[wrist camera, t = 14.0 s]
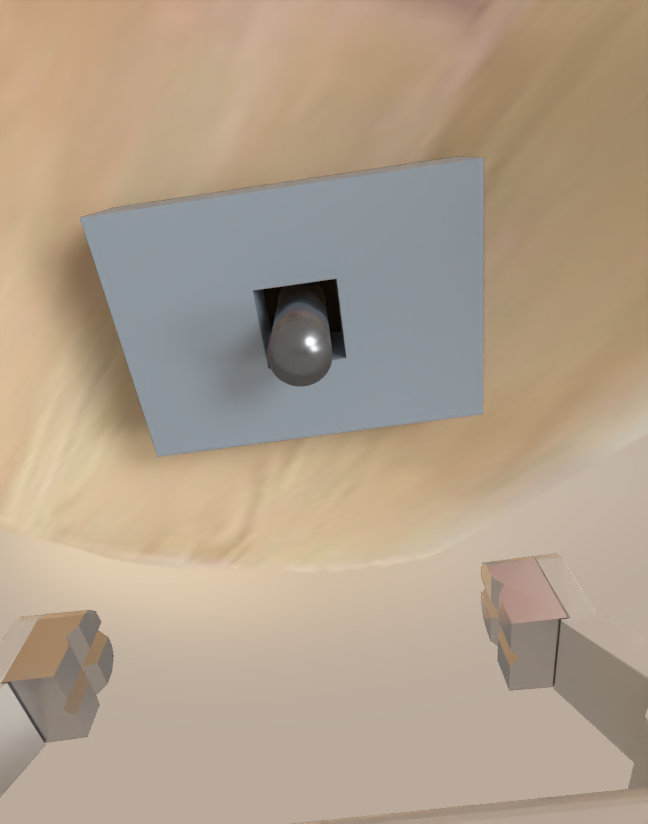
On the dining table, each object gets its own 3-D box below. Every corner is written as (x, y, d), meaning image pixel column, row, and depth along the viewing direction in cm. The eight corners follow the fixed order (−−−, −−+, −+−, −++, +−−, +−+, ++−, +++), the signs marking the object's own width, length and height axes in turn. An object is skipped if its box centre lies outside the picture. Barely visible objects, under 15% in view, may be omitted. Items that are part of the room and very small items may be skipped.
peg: (322, 274, 32) (328, 321, 24) (328, 320, 34) (336, 382, 25) (274, 281, 33) (262, 330, 24) (282, 327, 34) (273, 390, 25)
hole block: (457, 156, 30) (484, 157, 25) (461, 381, 36) (483, 413, 31) (113, 207, 30) (79, 217, 26) (175, 419, 37) (157, 456, 32)
